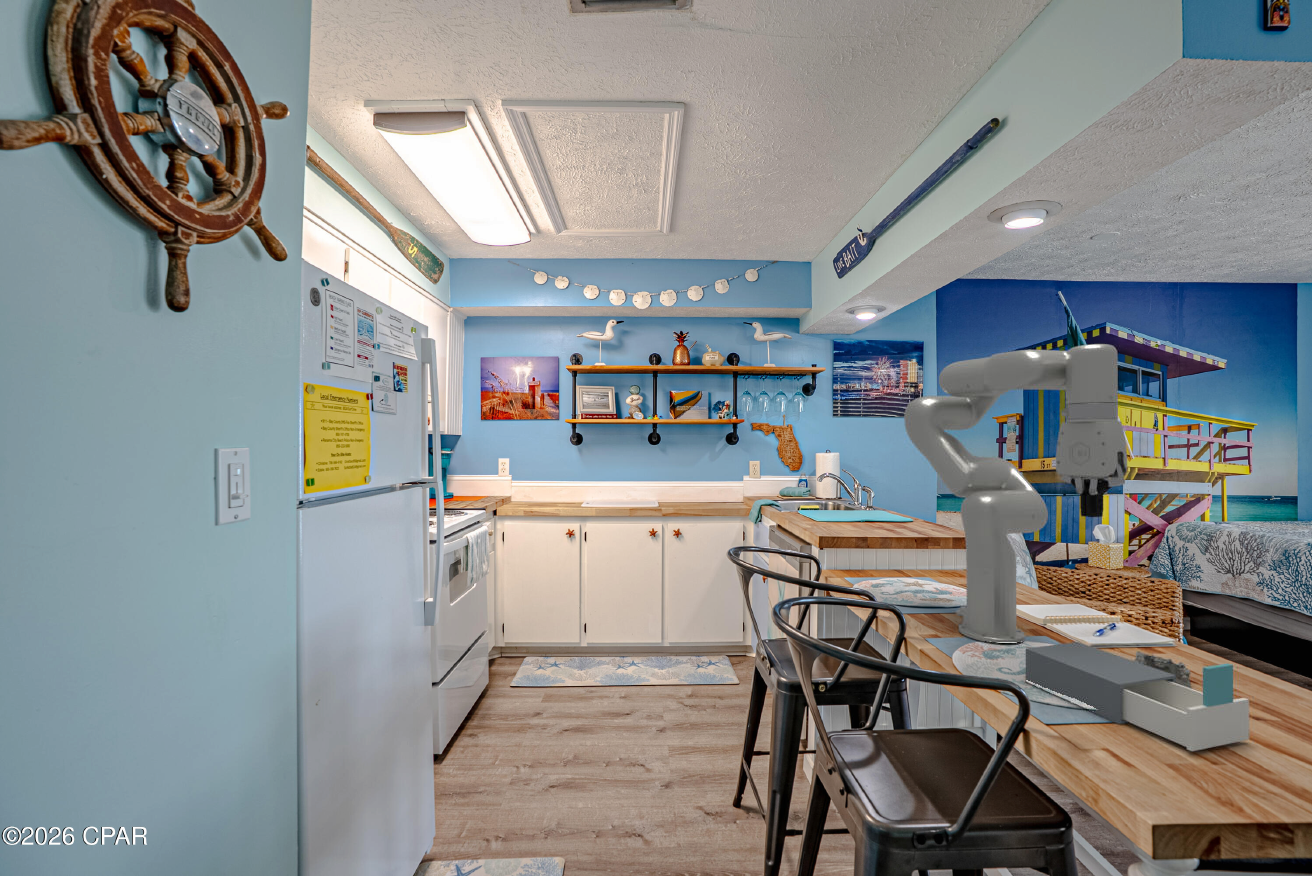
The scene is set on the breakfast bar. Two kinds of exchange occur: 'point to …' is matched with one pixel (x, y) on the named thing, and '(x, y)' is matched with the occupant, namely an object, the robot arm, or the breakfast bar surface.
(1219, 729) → the grey drawer
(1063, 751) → the breakfast bar surface
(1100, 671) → the sleeve
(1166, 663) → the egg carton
